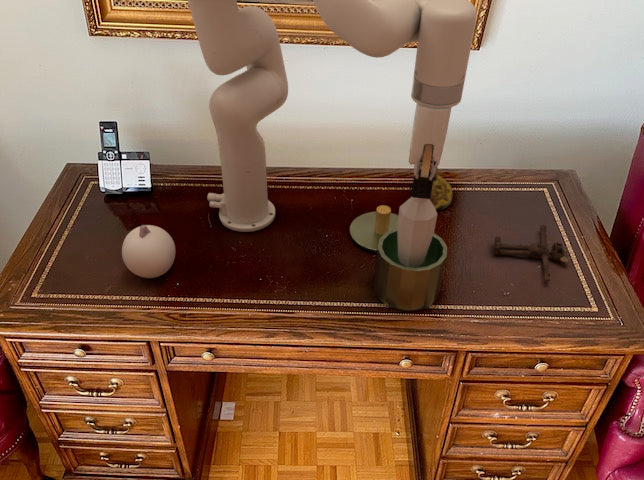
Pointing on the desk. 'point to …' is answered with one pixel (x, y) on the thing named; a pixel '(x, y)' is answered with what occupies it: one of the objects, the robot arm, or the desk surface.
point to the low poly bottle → (415, 229)
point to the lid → (372, 227)
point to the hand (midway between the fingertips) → (421, 189)
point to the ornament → (148, 251)
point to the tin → (408, 275)
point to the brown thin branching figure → (534, 251)
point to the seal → (440, 192)
